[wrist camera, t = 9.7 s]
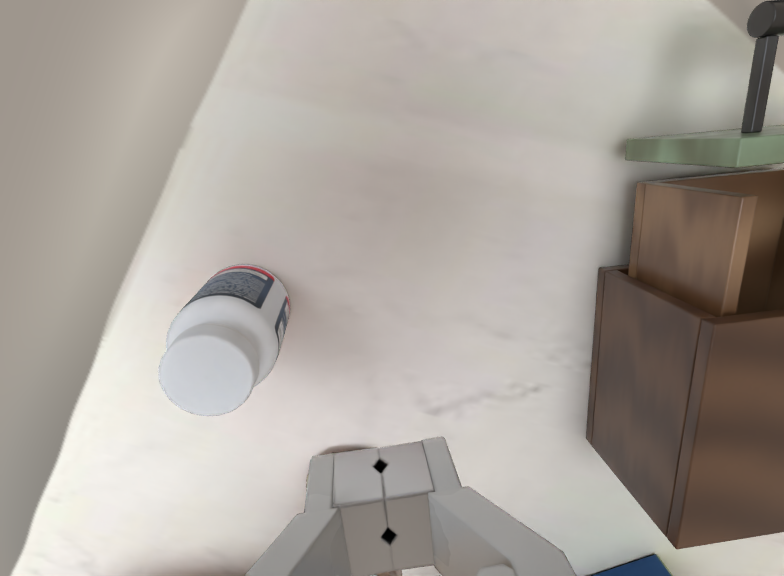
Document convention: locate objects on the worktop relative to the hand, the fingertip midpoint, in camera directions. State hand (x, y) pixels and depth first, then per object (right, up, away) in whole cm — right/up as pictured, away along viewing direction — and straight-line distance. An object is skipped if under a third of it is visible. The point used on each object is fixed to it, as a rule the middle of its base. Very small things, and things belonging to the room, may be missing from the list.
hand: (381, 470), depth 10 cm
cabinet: (+21, 0, +22) cm, 30 cm away
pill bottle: (-9, +3, +17) cm, 20 cm away
